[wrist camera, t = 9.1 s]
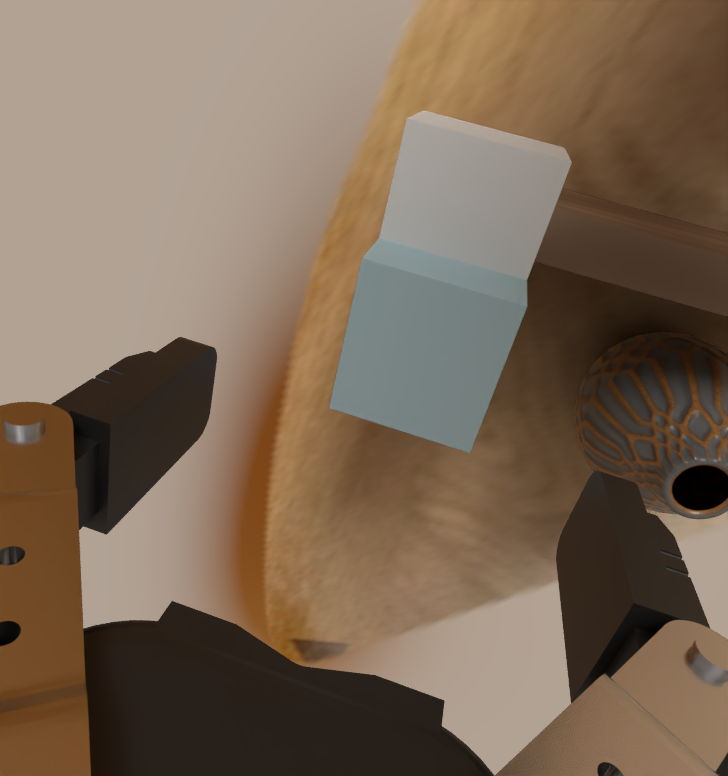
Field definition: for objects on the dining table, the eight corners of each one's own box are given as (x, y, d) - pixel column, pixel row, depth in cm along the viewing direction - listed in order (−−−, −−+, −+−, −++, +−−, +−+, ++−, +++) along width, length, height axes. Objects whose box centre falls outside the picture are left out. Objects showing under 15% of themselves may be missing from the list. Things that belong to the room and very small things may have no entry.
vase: (537, 372, 28) (550, 468, 20) (673, 281, 25) (749, 353, 17) (622, 474, 29) (664, 601, 22) (761, 399, 26) (868, 515, 19)
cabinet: (434, 105, 21) (391, 125, 14) (560, 139, 21) (578, 175, 14) (376, 332, 26) (324, 428, 19) (478, 362, 25) (462, 472, 19)
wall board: (449, 157, 25) (425, 173, 18) (859, 269, 24) (1025, 339, 16) (439, 195, 26) (411, 226, 18) (835, 306, 24) (985, 390, 17)
